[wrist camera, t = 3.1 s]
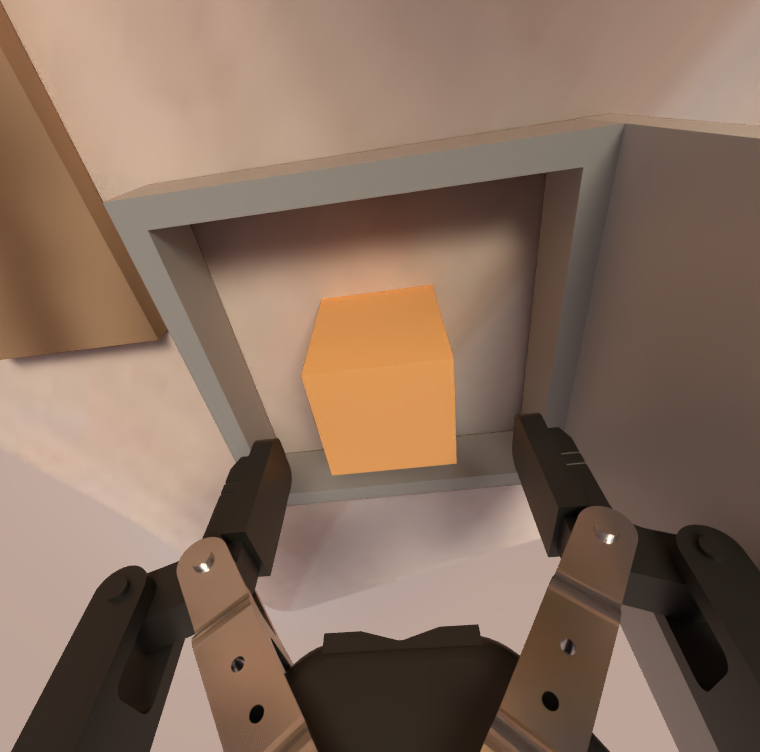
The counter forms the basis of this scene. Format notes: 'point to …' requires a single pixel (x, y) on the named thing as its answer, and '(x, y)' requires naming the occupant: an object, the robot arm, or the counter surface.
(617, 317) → the case
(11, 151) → the board
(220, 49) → the counter surface
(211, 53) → the counter surface
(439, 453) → the block
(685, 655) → the robot arm
